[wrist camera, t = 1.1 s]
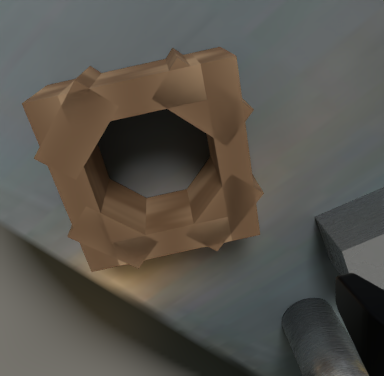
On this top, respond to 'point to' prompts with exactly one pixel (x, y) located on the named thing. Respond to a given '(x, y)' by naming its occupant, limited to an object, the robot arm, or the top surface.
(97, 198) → the socket block
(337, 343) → the grey cylindrical bottle
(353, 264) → the grey rectangular block
